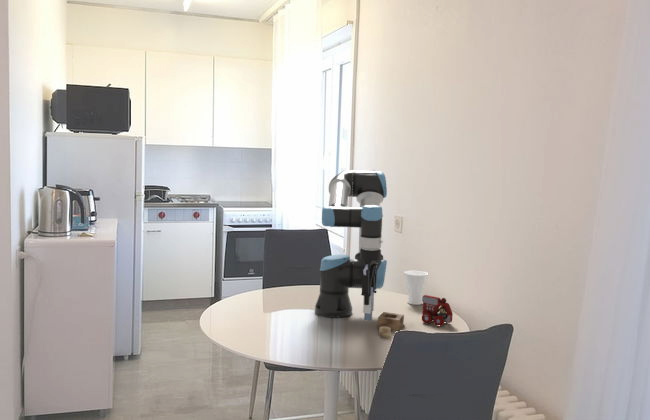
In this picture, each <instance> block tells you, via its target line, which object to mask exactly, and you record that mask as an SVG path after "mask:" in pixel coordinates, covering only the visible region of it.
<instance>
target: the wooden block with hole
mask: <svg viewBox="0 0 650 420" xmlns="http://www.w3.org/2000/svg"><path fill="white" fill-rule="evenodd" d="M404 319H405V314H402V313H396V312H395V313H392V312H386V311H383V312H382V313H381V314H380V315H378V317H377V329H379V328H380V327H382V326H387V327H390V328H391V331H398V330H399V329H400V330H401V328H403V327H404V325H405V324H404V323H405V322H404ZM400 330H399V331H400Z"/></svg>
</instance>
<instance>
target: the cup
mask: <svg viewBox="0 0 650 420" xmlns="http://www.w3.org/2000/svg"><path fill="white" fill-rule="evenodd" d="M403 273H404V277H405V282H406V284H407V304H410V305H414V306H415V305H417V306H419V305H423V302H422V297H423V295H424V294H423V292H424V287H425V284H426V281H427V279H428V276H429V273H428V272H427V271H423V270H415V269H414V270H413V269H412V270H405V271H403Z"/></svg>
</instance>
